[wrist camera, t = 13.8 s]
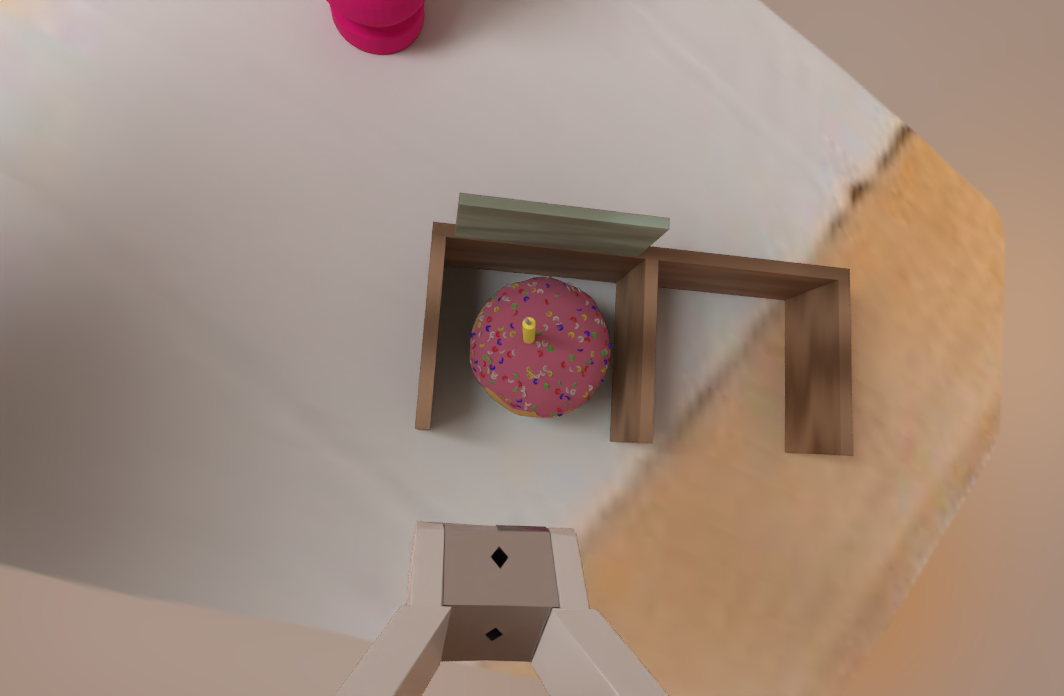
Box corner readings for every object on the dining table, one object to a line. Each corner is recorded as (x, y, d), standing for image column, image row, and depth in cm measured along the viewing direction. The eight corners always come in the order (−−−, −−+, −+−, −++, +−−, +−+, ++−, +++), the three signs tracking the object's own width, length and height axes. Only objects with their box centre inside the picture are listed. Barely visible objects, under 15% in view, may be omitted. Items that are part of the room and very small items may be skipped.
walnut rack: (795, 452, 43) (916, 459, 33) (417, 429, 39) (412, 427, 29) (795, 290, 45) (909, 245, 34) (432, 252, 41) (433, 187, 30)
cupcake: (460, 414, 40) (472, 406, 28) (470, 287, 41) (486, 229, 30) (588, 423, 41) (650, 419, 30) (594, 300, 43) (656, 249, 31)
